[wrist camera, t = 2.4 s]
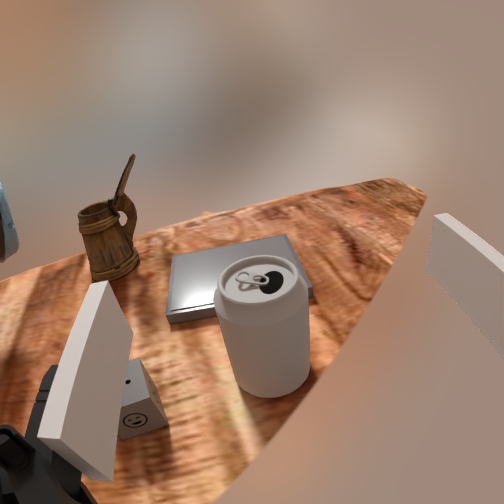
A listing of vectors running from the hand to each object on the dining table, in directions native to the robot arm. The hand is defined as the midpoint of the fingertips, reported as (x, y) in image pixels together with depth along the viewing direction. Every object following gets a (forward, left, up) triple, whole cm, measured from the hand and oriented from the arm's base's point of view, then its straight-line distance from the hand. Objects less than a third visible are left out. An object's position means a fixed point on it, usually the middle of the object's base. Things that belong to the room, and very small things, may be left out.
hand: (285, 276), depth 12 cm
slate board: (-2, +27, -19) cm, 33 cm away
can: (0, +10, -19) cm, 22 cm away
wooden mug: (-20, +37, -19) cm, 46 cm away
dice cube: (-14, +7, -19) cm, 25 cm away
